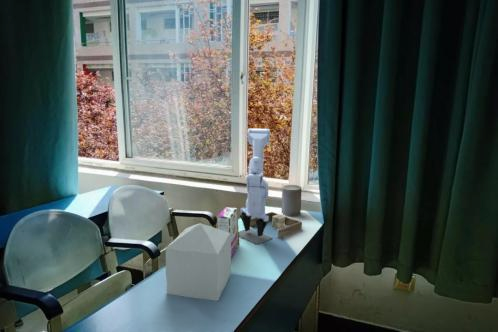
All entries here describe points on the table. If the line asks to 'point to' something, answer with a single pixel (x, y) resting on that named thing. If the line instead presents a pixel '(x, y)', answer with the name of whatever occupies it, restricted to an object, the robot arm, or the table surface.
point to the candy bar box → (229, 225)
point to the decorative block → (199, 262)
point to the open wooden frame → (292, 224)
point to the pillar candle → (291, 200)
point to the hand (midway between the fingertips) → (253, 233)
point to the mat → (253, 236)
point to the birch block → (278, 221)
